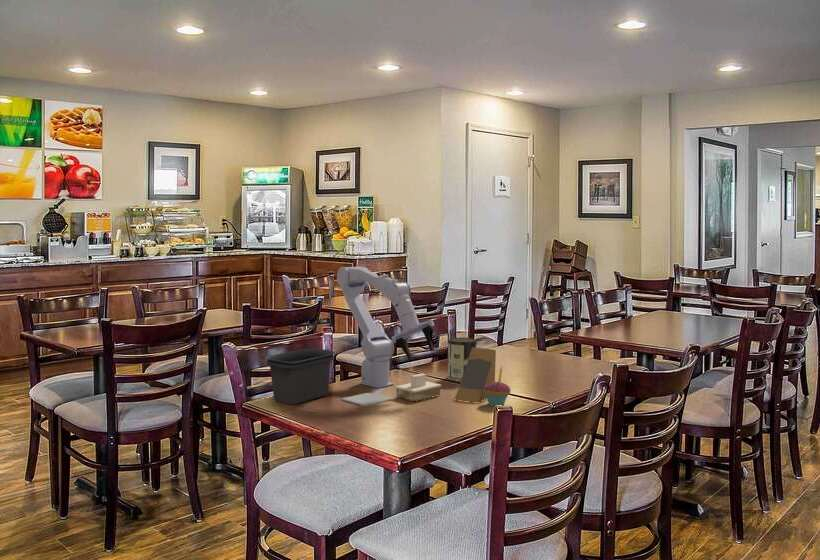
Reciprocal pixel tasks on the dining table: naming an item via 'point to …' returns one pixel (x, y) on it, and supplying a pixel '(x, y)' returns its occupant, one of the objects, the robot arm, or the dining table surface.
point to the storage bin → (300, 374)
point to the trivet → (366, 399)
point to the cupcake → (496, 391)
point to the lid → (418, 384)
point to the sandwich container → (477, 375)
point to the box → (417, 394)
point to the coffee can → (459, 356)
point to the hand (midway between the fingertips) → (421, 354)
